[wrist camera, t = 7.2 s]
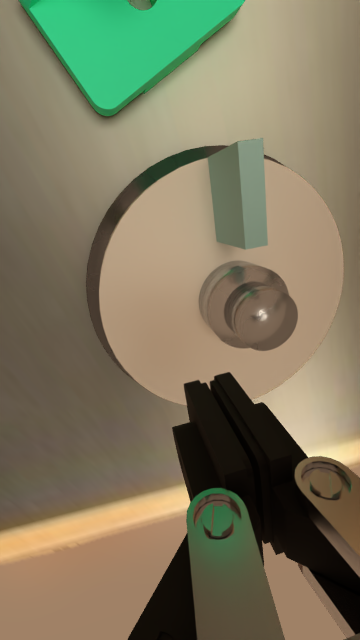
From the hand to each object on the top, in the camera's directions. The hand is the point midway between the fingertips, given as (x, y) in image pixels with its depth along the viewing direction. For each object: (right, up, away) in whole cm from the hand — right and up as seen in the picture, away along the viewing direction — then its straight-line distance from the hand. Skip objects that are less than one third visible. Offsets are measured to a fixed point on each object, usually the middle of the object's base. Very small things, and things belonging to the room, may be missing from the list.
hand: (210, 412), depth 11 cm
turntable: (+2, +6, +15) cm, 17 cm away
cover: (+3, +5, +13) cm, 15 cm away
